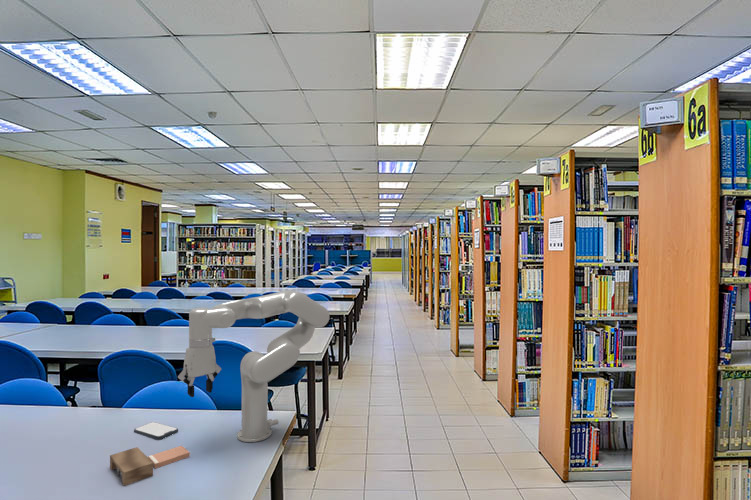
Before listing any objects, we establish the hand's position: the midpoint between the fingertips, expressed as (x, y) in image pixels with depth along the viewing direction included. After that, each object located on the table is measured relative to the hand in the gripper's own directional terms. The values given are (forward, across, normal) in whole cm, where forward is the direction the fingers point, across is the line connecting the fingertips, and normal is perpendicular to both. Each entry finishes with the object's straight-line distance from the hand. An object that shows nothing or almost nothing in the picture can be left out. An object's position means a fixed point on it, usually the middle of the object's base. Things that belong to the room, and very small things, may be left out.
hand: (200, 393), depth 149 cm
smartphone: (+20, +6, -26) cm, 33 cm away
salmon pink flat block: (+20, +10, 0) cm, 23 cm away
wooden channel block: (+20, +22, 0) cm, 29 cm away
